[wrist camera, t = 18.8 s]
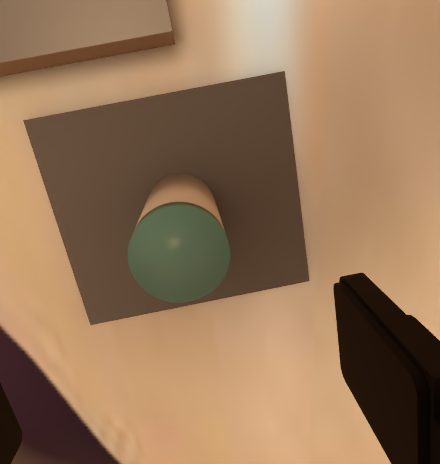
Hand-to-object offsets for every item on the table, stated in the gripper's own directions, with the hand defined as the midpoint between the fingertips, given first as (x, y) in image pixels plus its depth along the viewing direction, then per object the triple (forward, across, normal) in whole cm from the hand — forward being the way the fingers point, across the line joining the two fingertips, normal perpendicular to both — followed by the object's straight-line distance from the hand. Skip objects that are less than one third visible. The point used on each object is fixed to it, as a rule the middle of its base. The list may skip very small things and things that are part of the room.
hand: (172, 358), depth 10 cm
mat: (+19, +1, +1) cm, 19 cm away
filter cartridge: (+19, 0, +1) cm, 19 cm away
